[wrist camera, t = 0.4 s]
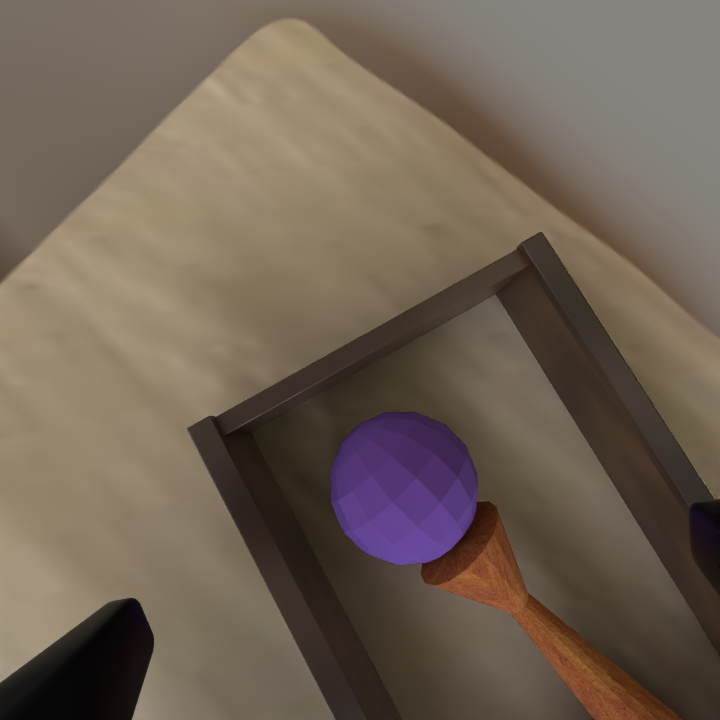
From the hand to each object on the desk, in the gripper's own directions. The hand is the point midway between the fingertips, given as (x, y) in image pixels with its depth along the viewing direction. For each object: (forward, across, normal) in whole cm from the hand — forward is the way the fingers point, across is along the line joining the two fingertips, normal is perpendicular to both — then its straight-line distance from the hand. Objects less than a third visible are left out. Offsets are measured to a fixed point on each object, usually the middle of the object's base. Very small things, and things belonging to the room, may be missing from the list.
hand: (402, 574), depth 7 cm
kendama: (+11, -3, +11) cm, 16 cm away
